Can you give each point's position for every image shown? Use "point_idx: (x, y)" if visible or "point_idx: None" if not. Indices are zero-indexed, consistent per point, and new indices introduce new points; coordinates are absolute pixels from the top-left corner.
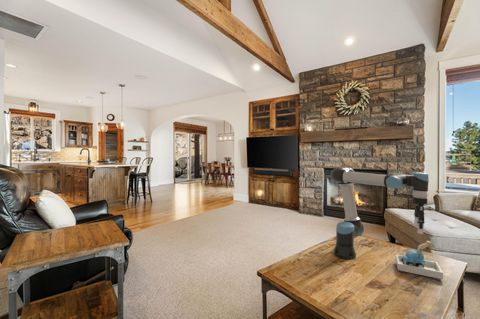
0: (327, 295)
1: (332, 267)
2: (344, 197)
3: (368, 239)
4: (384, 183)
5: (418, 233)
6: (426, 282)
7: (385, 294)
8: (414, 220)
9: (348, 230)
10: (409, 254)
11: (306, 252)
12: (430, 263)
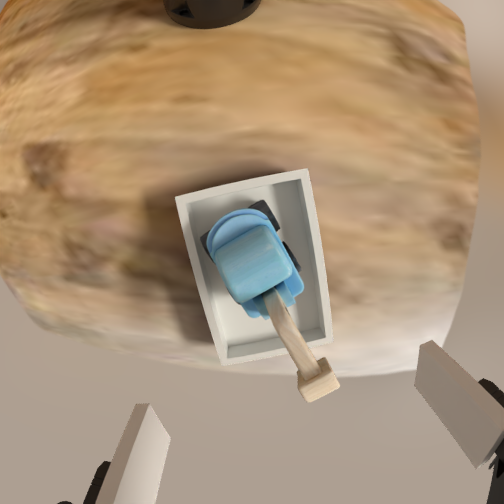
0: None
1: (79, 27)
2: None
3: (460, 68)
4: None
5: (139, 410)
6: (173, 300)
7: (17, 205)
8: (480, 390)
9: None
10: (228, 251)
11: None
12: (321, 317)
